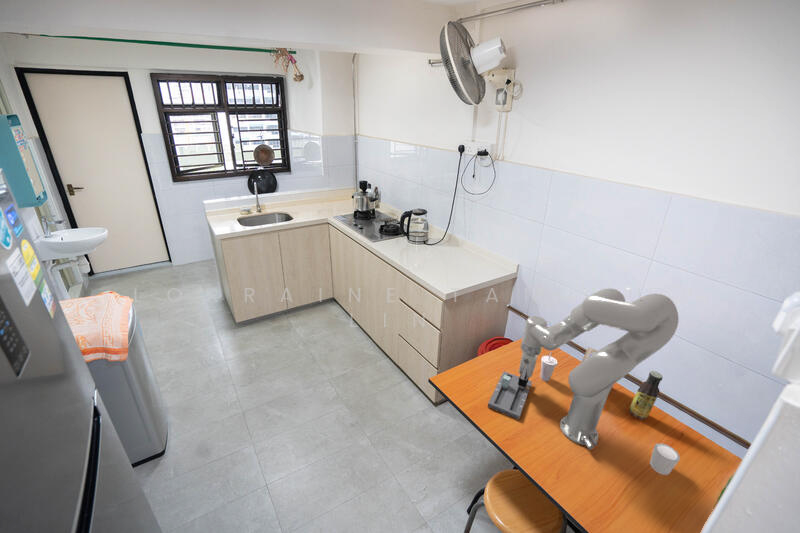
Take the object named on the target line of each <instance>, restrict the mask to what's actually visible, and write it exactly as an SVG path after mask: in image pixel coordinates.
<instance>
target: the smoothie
mask: <svg viewBox="0 0 800 533" xmlns="http://www.w3.org/2000/svg"><path fill="white" fill-rule="evenodd" d="M540 361H541V368H540V380H541V381H544V382H549V381H550V379H551V377H552V375H553V372H554V370H555V368H556V367H557V366H558V360H557V359H556V358H555V357H553V356H552V351H550V352H549V354H548V355H543V356H541V360H540Z"/></svg>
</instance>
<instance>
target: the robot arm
mask: <svg viewBox="0 0 800 533" xmlns="http://www.w3.org/2000/svg"><path fill="white" fill-rule="evenodd" d="M679 318H680V317H679V312H678V307H677V306H676V304H675V303H674V301H673V300H672V299H671V298H670V297H668V296H666V295H665V294H663V293H650V294H649V293H648V294H646V295H644V296H641V297H639V298H637V299H636V300H633V301H631V302H630V301H629V302H627V301H626V298H625V296H624V294H623V293H622V292H620V291H619V290H618V289H615V288H609V287H608V288H603V289H600V290H599V291H597V292H594V293H592V294H590V295H588V296H587V297H586V298H584V300H583V302H581V303H580V304H578V305H577V306H576V307H574V308H572V310H571V311H570V315H568V316H567V317H565V318H564V319H563V320H561V321H559V322H558V323H555V324H553V325H551V326H548V323H547V321H546V319H544V318H543V317H541V316H536V315H532V316H528V318H527V319H526V321H525V326H524V330H523V336H522V339H521V345H520V350H521V351H522V355H521V358H520V361H519V362H520V363H519V368H518V373H519V376H518V377H519V382H518V385H519V386H522V387H525V388H526V385H527V383H528V380H529V379H530V378H532V376H533V374H534V371H535V367H536V362H537V359H538V356H539V355H540V354H541V353H542V352H541V351H542V348H543V349H544V350H547V351H550V352H552V351H554V350H557V349H558V348H560V347H561V346H563V345H565V344H568V343H569V342H571V341H572V340H574V339H575V338H577V337H579V336H581V335H582V334H584V333H586V332H590V331H591V330H594V329H595V328H596V327H598V326H600V325H601V326H604V327H608V328H613V329H617V330H621V331H626V333H625V334H624V335H622V336H620V337H619V338H617V339H616V340H615V341H613V342H611V343H609V344H607V345H605V346H603V347H602V348H601V349H598V350H597V352H596V353H594V354H593V355H592V356H590V357H589V358H588V359H586V360H585V361H584V362H582V363H581V362H580V363H579V364H578V365H577V366H575V367H574V368H573V369H571V371H570V372H569V374H568V384H569V387H570V389H571V390H573V391H574V392H575V393H574V392H573V396H572V400H571V403H570V406H569V409H568V413H567V415H565V416H563V417H562V418H561V420H560V421H559V427H560V430H561V431H562V433H563V435H564V436H565V437H567V439H569V440H570V441H572V442H574V443H575V444H578V445H582V446H586V447H587V449H588V450H593V449H594V447H596V446H598V445H599V443H598V439H599V433H598V430H597V426H598V423H599V422H600V418H601V416H602V413H603V411H604V407H605V404H606V402H607V399H608V397H609V394H610V392H611V390H612V388H613V386H614V385H615V384H616V383H618V382H619V381H621V380H622V379H623V378H624V377H626V376H627V375H629V373H631V372H632V371H633V370H634V369H635V368H636V367H637V366H638V365H639V364H641V363H643V362H644V361H646V360H647V359H648V358H649V357H651V356H652V355H654V354H655V353H657V352H658V351H660V350H661V349H662V348H663V347H665V346H666V345H667V344H668V343H669V342H670V341H671V339H672V338H673V337H674V335H675V334H676V331H677V329H678V326H679ZM525 375H526V376H525ZM527 378H528V379H527Z"/></svg>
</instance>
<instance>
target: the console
mask: <svg viewBox="0 0 800 533" xmlns="http://www.w3.org/2000/svg"><path fill="white" fill-rule="evenodd" d="M504 375H507V376H509V377H511V378H510V383H509V386H508V388H506V390H504V389H502V388H503V386H501V385H502V380H503V377H504ZM519 377H520V376H518V375H515V374H512V373H510V372H508V371H503V372H502V373H501V376H500V378H499V380H498V382H497V384H496V386H495V389H494V391H493V393H492V395H491V397H490V399H489V400H488V403H487V408H489V407H490V408H489V409H491V408H492V409H491V410H494V411H496V410H497V411H496V412H498V411H499V413H501V414H503V415H505V414H506V416H508V417H510V418H513V419H516V420H517V419H518V420H517V421H520V418H521V415H522V414H523V410H524V407H525V404H526V402H527V398H528V396H529V393H530V390H531V388H532V387H531V386H532V383H533V381H531V380H529V379H528V383H527V385H526V388H523V390H522V389H519V388H520V386H518V382H519Z"/></svg>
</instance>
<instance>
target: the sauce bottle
mask: <svg viewBox="0 0 800 533" xmlns="http://www.w3.org/2000/svg"><path fill="white" fill-rule="evenodd" d="M662 380H663V375H662V374H661V373H660V372H658V371H655V370H650V371H649V374H648V377H647V379H646V380H645V381H643V382H642V383H641V384H640V385H639V388H638V389H637V391H636V393H635V396H634V397H633V399H632V401H631V403H630V406H629V410H628V412H629V414H630V415H631V416H633V417H634V418H636V419H638V420H643V421H644V420H646V419H647V417H648V416H649V415H650V413H651V411H652V410H653V407H654V405H655V403H656V401H657V399H658V396H659V394H660V388H659V385H660V383H661V382H662Z"/></svg>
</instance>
